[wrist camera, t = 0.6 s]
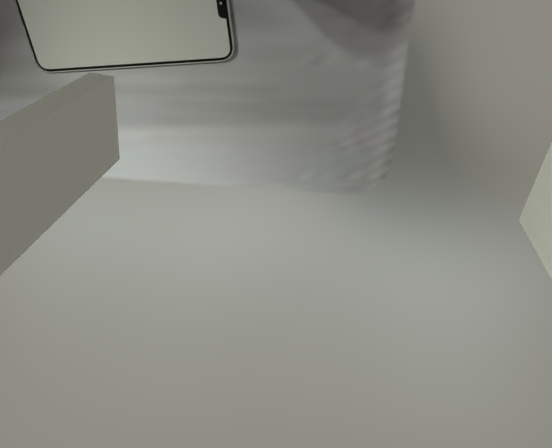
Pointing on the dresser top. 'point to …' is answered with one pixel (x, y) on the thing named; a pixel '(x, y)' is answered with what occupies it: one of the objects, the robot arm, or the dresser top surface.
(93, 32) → the smartphone
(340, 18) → the dresser top surface
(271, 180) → the dresser top surface
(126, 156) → the dresser top surface
